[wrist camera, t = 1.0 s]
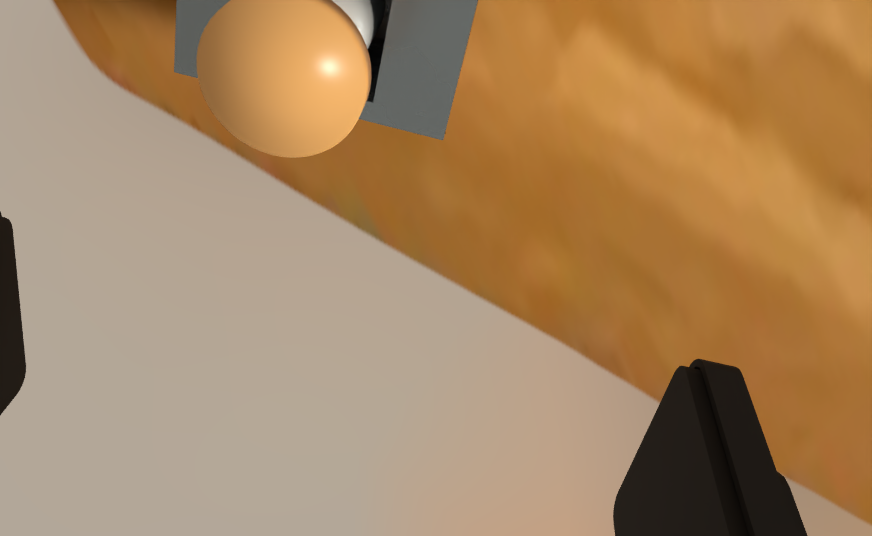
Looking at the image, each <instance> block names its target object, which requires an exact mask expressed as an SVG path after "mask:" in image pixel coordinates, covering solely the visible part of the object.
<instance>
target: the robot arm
mask: <svg viewBox="0 0 872 536" xmlns="http://www.w3.org/2000/svg"><path fill="white" fill-rule="evenodd" d="M25 373H26V363H25V353H24V342H23V331H22V321H21V311H20V301H19V291H18V280H17V269H16V259H15V249H14V239H13V229H12V224H11V222H10V220H9V219H7V218H5V217H2V216H1V212H0V415H1V413H2V412H3V411H4V410H5V409H6V407H7V406H8V405H9V404H10V402H11V401H12V399H14V397H15V396H16V395H17V393H18V392H19V390H20V388H21V386H22V384H23V381H24V378H25ZM613 518H614V529H615V536H807V533H806V531H805V528H804V525H803V522H802V520H801V517H800V514H799V511H798V509H797V506H796V503H795V501H794V498H793V495H792V492H791V490H790V487H789V485H788V483H787V481H786V479H785V477H784V476H782V475H781V474H780V473H779V472H777V471H776V468H775V465H774V462H773V460H772V457H771V454H770V451H769V448H768V445H767V443H766V440H765V437H764V434H763V431H762V429H761V426H760V423H759V420H758V417H757V414H756V412H755V409H754V406H753V403H752V400H751V398H750V395H749V392H748V389H747V386H746V384H745V381H744V378H743V375H742V373H741V371H740V369H738V368H737V367H734V366H729V365H724V364H720V363H715V362H711V361H706V360H702V359H696V360H694V361H693V362H692V363H691V365H690V366H689V367H685V366H679V367H678V368H677V370H676V371H675V373H674V375H673V377H672V379H671V381H670V383H669V385H668V388H667V390H666V392H665V394H664V396H663V398H662V400H661V402H660V405H659V407H658V409H657V411H656V413H655V415H654V417H653V419H652V421H651V424H650V426H649V428H648V430H647V432H646V434H645V436H644V438H643V441H642V443H641V445H640V447H639V449H638V451H637V453H636V455H635V458H634V460H633V462H632V464H631V466H630V468H629V470H628V472H627V475H626V477H625V479H624V481H623V483H622V485H621V487H620V489H619V491H618V494H617V496H616V501H615V505H614V515H613Z"/></svg>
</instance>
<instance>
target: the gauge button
mask: <svg viewBox="0 0 872 536" xmlns="http://www.w3.org/2000/svg"><path fill="white" fill-rule="evenodd" d="M384 14H385V0H230V1H229V2H228V3H226V4H225V5H224V6H223V7H222V8H221V9H220V10H218V11H217V12H216V14H215V15H214V16H213V17H212V18H211V19H210V21H209V22H208V24H207V25H206V27H205V29H204V31H203V33H202V35H201V38H200V41H199V45H198V50H197V74H198V80H199V84H200V88H201V91H202V93H203V96H204V98H205V101H206V102H207V104H208V106H209V108H210V109H211V111H212V112H213V114H214V115H215V117H216V118H217V119H218V121H219V122H220V123H221V124H222V125H223V126H224V127H225V128H226V129H227V130H228V131H229V132H230V133H231V134H232V135H234V136H235V137H236V138H238V139H239V140H240V141H242V142H243V143H245V144H247V145H249V146H250V147H252V148H255V149H257V150H259V151H261V152H264V153H268V154H271V155H275V156H281V157H291V158H295V157H306V156H312V155H315V154H319V153H322V152H324V151H326V150H328V149H330V148H332V147H334V146H335V145H337V144H338V143H339V142H341V141H342V140H343V139H344V138H345V137H346V136H347V135H348V134H349V133H350V131H351V130H352V129H353V127H354V126H355V124H356V122H357V121H358V119H359V117H360V115H361V112H362V110H363V108H364V106H365V104H366V101H367V99H368V96H369V92H370V87H371V78H372V76H371V62H370V56H369V53H368V47H369V46H370V44H371V42H372V40H373V38H374V36H375V35H376V33H377V31H378V29H379V27H380V26H381V23H382V21H383V18H384Z"/></svg>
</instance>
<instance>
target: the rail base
mask: <svg viewBox="0 0 872 536" xmlns="http://www.w3.org/2000/svg"><path fill="white" fill-rule="evenodd" d="M229 1H230V0H177V6H176V35H175V63H174V72H176V73H180V74H184V75H188V76H192V77H196V78H198V74H197V50H198V45H199V41H200V38H201V35H202V33H203V31H204V29H205V27H206V25H207V24H208V22H209V21H210V19H211V18H212V17H213V16H214V15H215V14H216V12H217V11H218V10H220V9H221V8H222V7H223V6H224V5H225V4H226V3H228V2H229ZM477 2H478V0H385V14H384V18H383V21H382V23H381V26H380V27H379V29H378V31H377V33H376V35H375V36H374V38H373V40H372V42H371V44H370V46H369V47H368V53H369V56H370V62H371V76H372V78H371V87H370V92H369V96H368V99H367V101H366V104H365V106H364V108H363V110H362V112H361V115H360V117H359V119H361V120H365V121H369V122H373V123H377V124H381V125H385V126H389V127H393V128H397V129H401V130H405V131H409V132H413V133H417V134H421V135H425V136H429V137H433V138H436V139H440V140H443V138H444V134H445V130H446V126H447V122H448V118H449V114H450V110H451V107H452V103H453V99H454V95H455V91H456V87H457V83H458V79H459V75H460V71H461V67H462V63H463V59H464V55H465V51H466V47H467V43H468V39H469V35H470V30H471V26H472V22H473V18H474V14H475V10H476V6H477Z"/></svg>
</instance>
